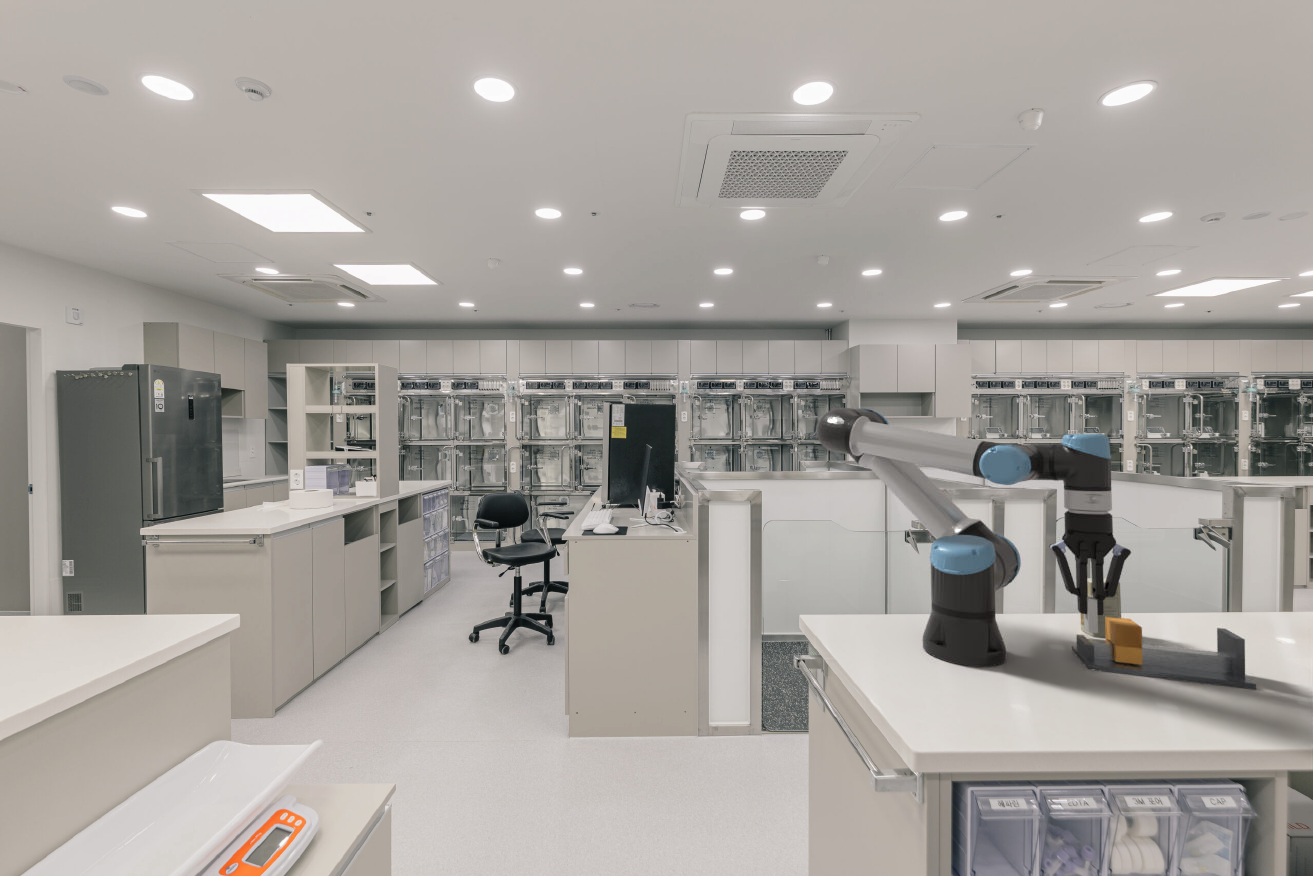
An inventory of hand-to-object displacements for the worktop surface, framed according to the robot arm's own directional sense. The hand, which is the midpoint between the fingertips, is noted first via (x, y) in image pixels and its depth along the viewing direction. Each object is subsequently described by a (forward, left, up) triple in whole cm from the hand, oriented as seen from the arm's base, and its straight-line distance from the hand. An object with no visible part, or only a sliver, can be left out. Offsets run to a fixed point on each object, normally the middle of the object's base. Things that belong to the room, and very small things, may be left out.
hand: (1091, 630), depth 109 cm
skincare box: (+7, +19, -6) cm, 21 cm away
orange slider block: (+5, 0, -5) cm, 7 cm away
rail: (+10, 0, -6) cm, 12 cm away
